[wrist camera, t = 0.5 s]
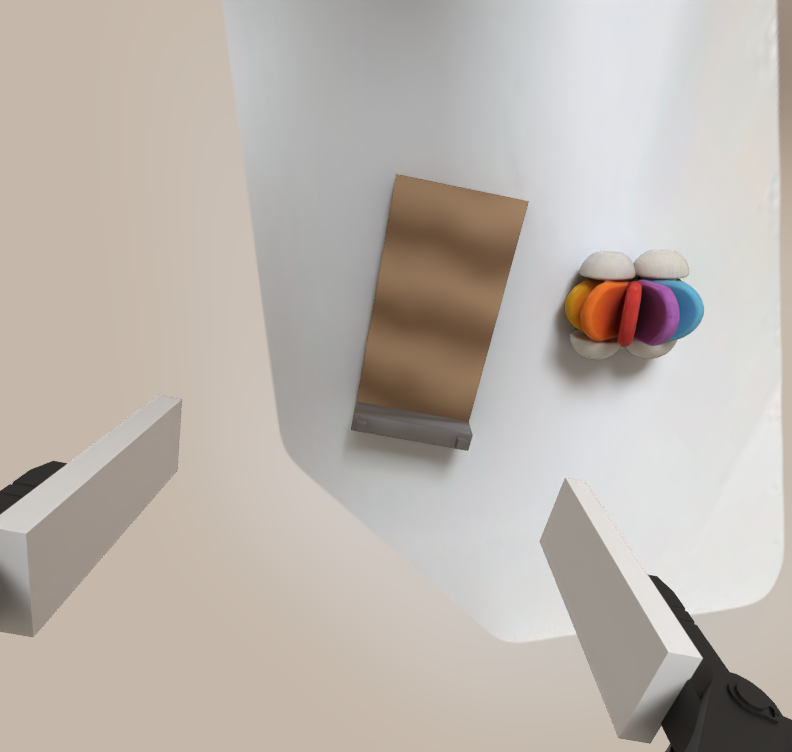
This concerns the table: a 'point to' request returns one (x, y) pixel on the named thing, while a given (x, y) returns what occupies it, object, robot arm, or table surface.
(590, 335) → the rainbow wooden ball puzzle
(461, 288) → the wooden display stand
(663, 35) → the table surface
